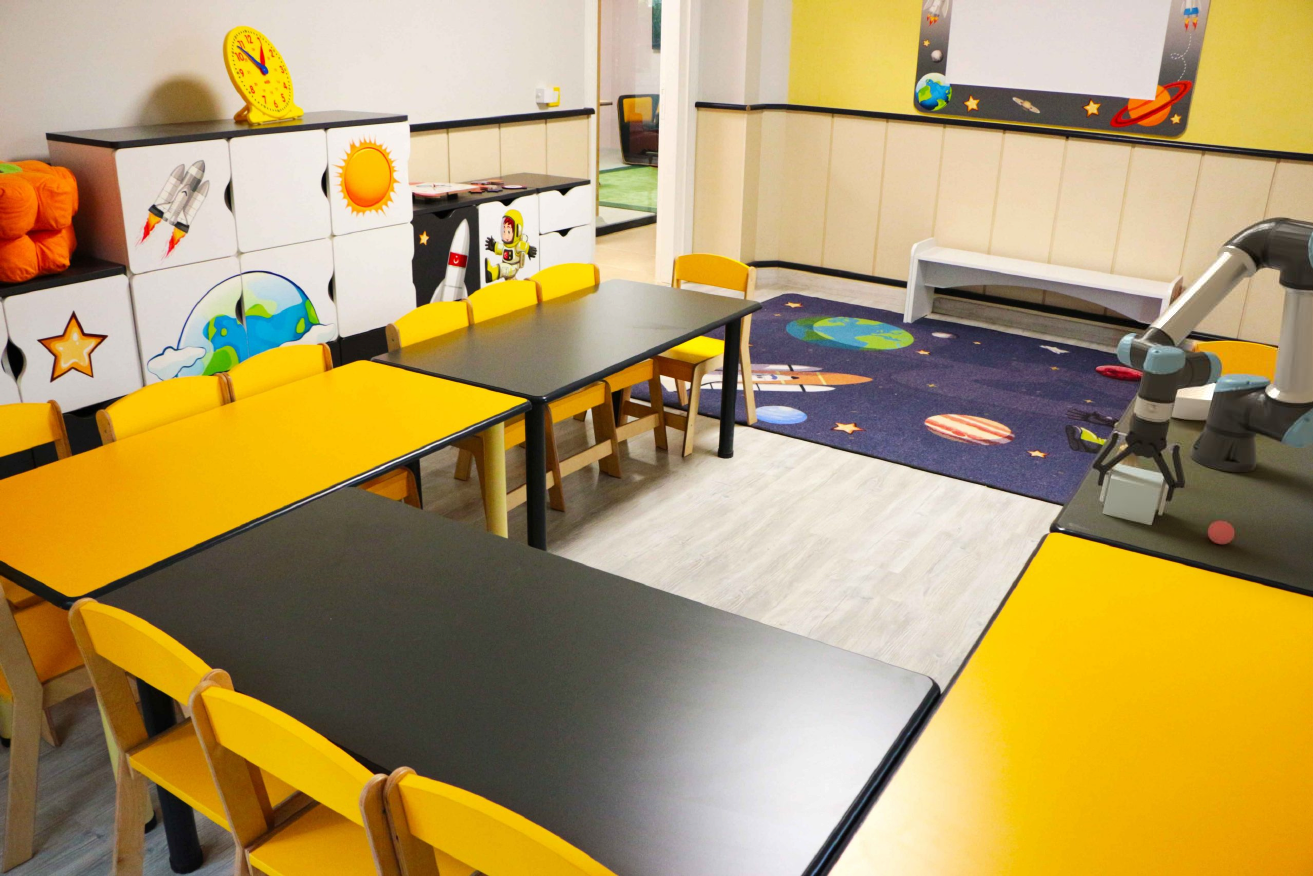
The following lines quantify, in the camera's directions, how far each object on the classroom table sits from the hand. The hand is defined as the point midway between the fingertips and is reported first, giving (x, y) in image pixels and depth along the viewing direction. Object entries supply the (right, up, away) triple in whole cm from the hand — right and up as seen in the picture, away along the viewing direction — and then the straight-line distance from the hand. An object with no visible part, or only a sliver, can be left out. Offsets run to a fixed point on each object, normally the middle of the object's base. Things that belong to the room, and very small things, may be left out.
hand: (1130, 506), depth 232 cm
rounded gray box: (0, -1, +1) cm, 1 cm away
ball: (+13, -5, -14) cm, 19 cm away
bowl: (+46, +22, +65) cm, 82 cm away
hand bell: (+10, +8, +25) cm, 29 cm away
